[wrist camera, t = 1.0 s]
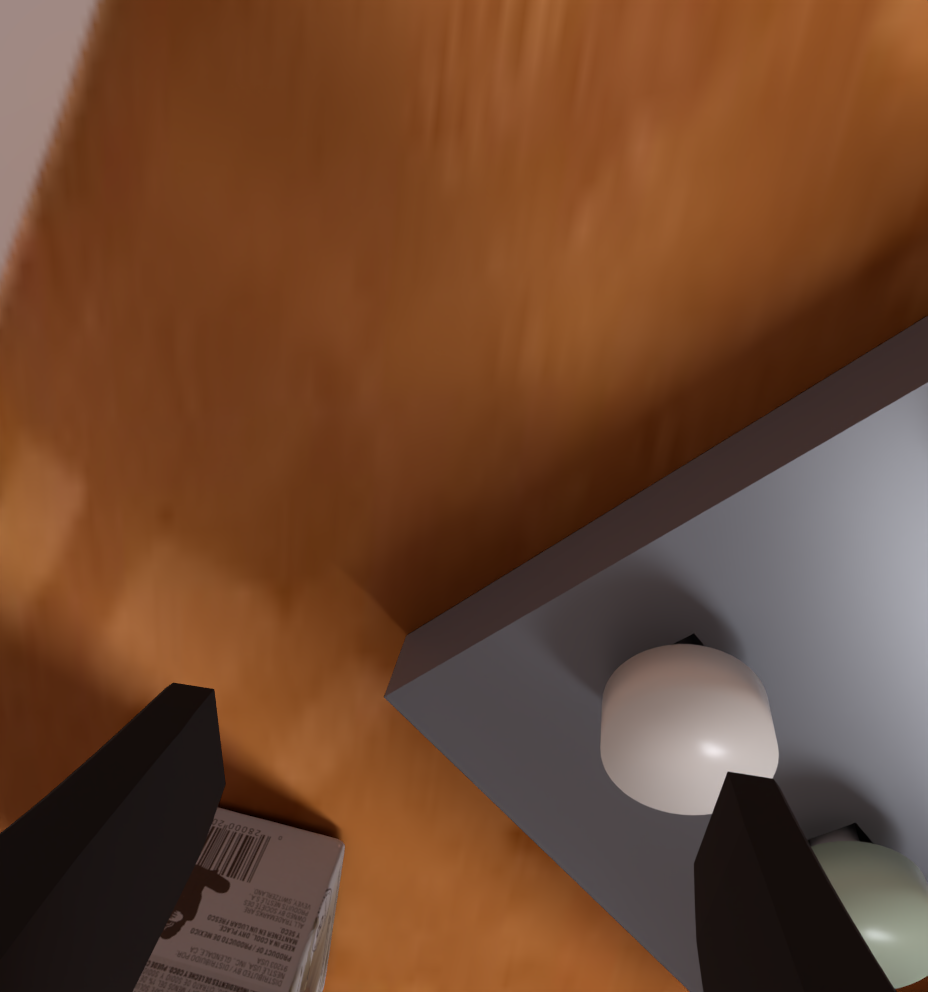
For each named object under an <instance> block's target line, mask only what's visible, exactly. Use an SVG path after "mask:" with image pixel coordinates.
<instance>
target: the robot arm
mask: <svg viewBox="0 0 928 992" xmlns="http://www.w3.org/2000/svg"><path fill="white" fill-rule="evenodd" d="M225 785H226V784H225V775H224V767H223V758H222V750H221V742H220V733H219V725H218V716H217V708H216V699H215V691H214V689H210V688H203V687H197V686H191V685H185V684H178V683H172V684H171V685H169V686H168V687H166V688H165V689H164V690H163V691H162V692H161V693H160V694H159V695H158V696H157V697H156V698H154V699H153V700H152V701H151V702H150V703H149V704H148V705H147V706H146V707H145V708H144V709H143V710H142V711H140V712H139V713H138V714H137V715H136V716H135V717H134V718H133V719H132V720H131V721H130V722H129V723H128V724H127V725H125V726H124V727H123V728H122V729H121V730H120V731H119V732H118V733H117V734H116V735H115V736H113V737H112V738H111V739H110V740H109V741H108V742H107V743H106V744H105V745H104V746H102V747H101V748H100V749H99V750H98V751H97V752H96V753H95V754H94V755H93V756H91V757H90V758H89V759H88V760H87V761H86V762H85V763H83V764H82V765H81V766H80V767H79V768H78V769H77V770H75V771H74V772H73V773H72V774H71V775H70V776H69V777H67V778H66V779H65V780H64V781H63V782H62V783H60V784H59V785H58V786H57V787H56V788H55V789H54V790H52V791H51V792H50V793H49V794H48V795H47V796H46V797H44V798H43V799H42V800H41V801H40V802H38V803H37V804H36V805H35V806H34V807H32V808H31V809H30V810H29V811H28V812H26V813H25V814H24V815H23V816H21V817H20V818H19V819H18V820H16V821H15V822H14V823H13V824H11V825H10V826H9V827H8V828H6V829H5V830H4V831H3V832H1V833H0V992H133V990H134V988H135V986H136V984H137V982H138V980H139V978H140V976H141V974H142V972H143V970H144V968H145V966H146V964H147V962H148V960H149V958H150V956H151V954H152V952H153V950H154V948H155V946H156V944H157V942H158V940H159V938H160V936H161V934H162V932H163V930H164V928H165V926H166V924H167V922H168V920H169V918H170V916H171V914H172V912H173V910H174V908H175V905H176V903H177V901H178V899H179V897H180V895H181V893H182V891H183V889H184V887H185V885H186V883H187V881H188V879H189V877H190V875H191V873H192V871H193V869H194V867H195V864H196V862H197V860H198V858H199V856H200V854H201V851H202V849H203V846H204V843H205V841H206V838H207V835H208V833H209V830H210V827H211V825H212V822H213V819H214V816H215V813H216V810H217V808H218V805H219V802H220V799H221V796H222V793H223V790H224V788H225ZM694 894H695V922H696V943H697V950H698V958H699V965H700V972H701V979H702V986H703V992H896V990H895V989H894V987H893V985H892V984H891V982H890V981H889V979H888V977H887V976H886V974H885V973H884V971H883V970H882V968H881V966H880V965H879V963H878V962H877V960H876V958H875V957H874V955H873V953H872V952H871V950H870V948H869V947H868V945H867V943H866V942H865V940H864V938H863V937H862V935H861V933H860V932H859V930H858V928H857V927H856V925H855V923H854V922H853V920H852V918H851V917H850V915H849V913H848V912H847V910H846V908H845V907H844V905H843V903H842V902H841V900H840V898H839V896H838V895H837V893H836V891H835V889H834V888H833V886H832V884H831V882H830V880H829V879H828V877H827V875H826V873H825V871H824V870H823V868H822V866H821V864H820V862H819V861H818V859H817V857H816V855H815V853H814V852H813V850H812V848H811V846H810V844H809V842H808V840H807V838H806V837H805V835H804V833H803V831H802V829H801V827H800V825H799V823H798V821H797V820H796V818H795V816H794V814H793V812H792V810H791V808H790V806H789V804H788V802H787V800H786V798H785V796H784V794H783V792H782V790H781V788H780V787H779V785H778V784H777V783H776V781H775V780H774V779H772V778H766V777H759V776H753V775H747V774H741V773H734V772H727V775H726V777H725V780H724V783H723V785H722V788H721V791H720V794H719V796H718V799H717V802H716V804H715V807H714V810H713V813H712V815H711V818H710V821H709V823H708V826H707V829H706V832H705V834H704V837H703V840H702V842H701V845H700V848H699V851H698V853H697V856H696V859H695V861H694Z"/></svg>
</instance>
